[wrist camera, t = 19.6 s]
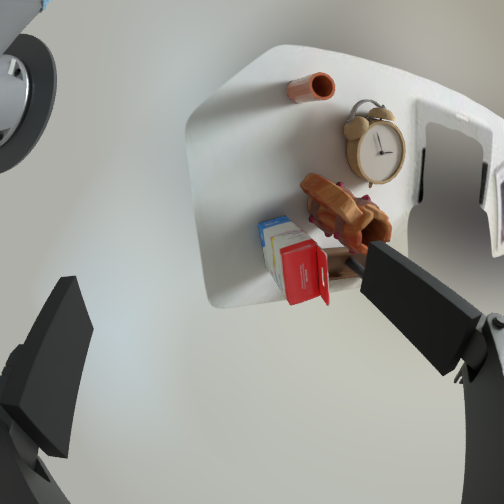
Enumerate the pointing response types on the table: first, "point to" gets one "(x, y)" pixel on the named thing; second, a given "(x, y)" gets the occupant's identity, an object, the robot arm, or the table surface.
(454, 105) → the table surface
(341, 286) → the table surface
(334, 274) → the pen tray
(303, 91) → the pen pot
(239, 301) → the table surface
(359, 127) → the alarm clock
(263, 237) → the ink box
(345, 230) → the mug
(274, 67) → the table surface
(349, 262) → the marker
